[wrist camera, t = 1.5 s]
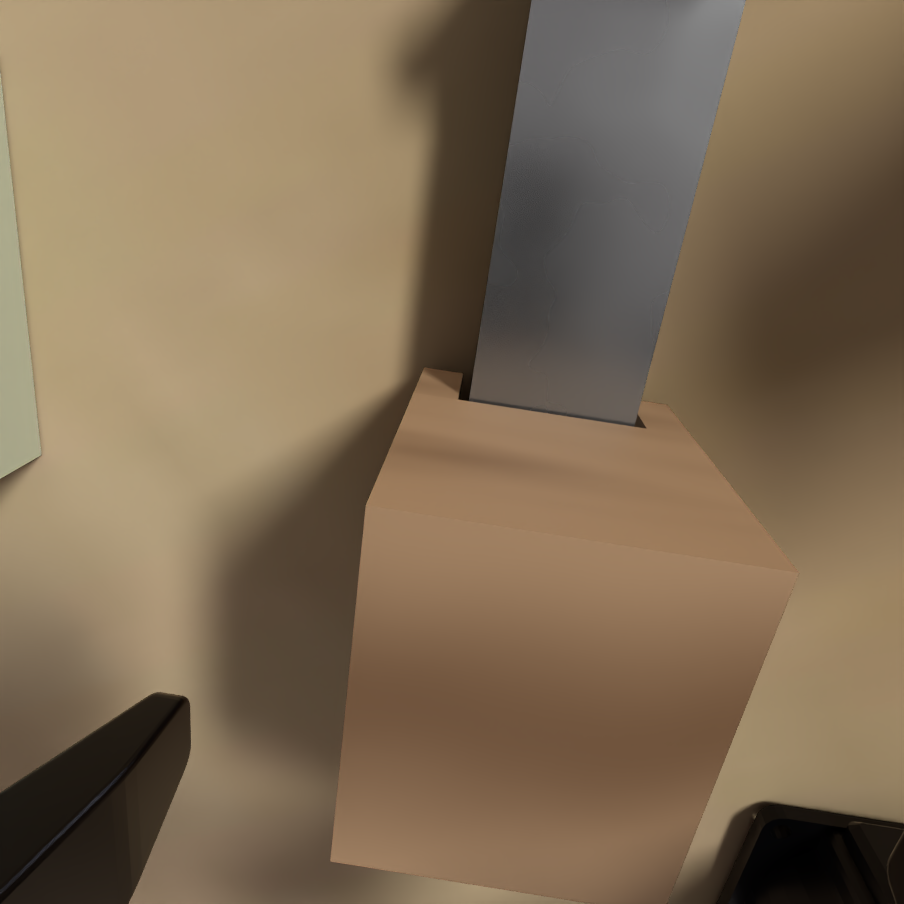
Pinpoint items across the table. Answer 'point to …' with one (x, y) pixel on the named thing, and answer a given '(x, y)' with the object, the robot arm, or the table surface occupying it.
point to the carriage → (547, 649)
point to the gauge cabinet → (13, 334)
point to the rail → (597, 199)
